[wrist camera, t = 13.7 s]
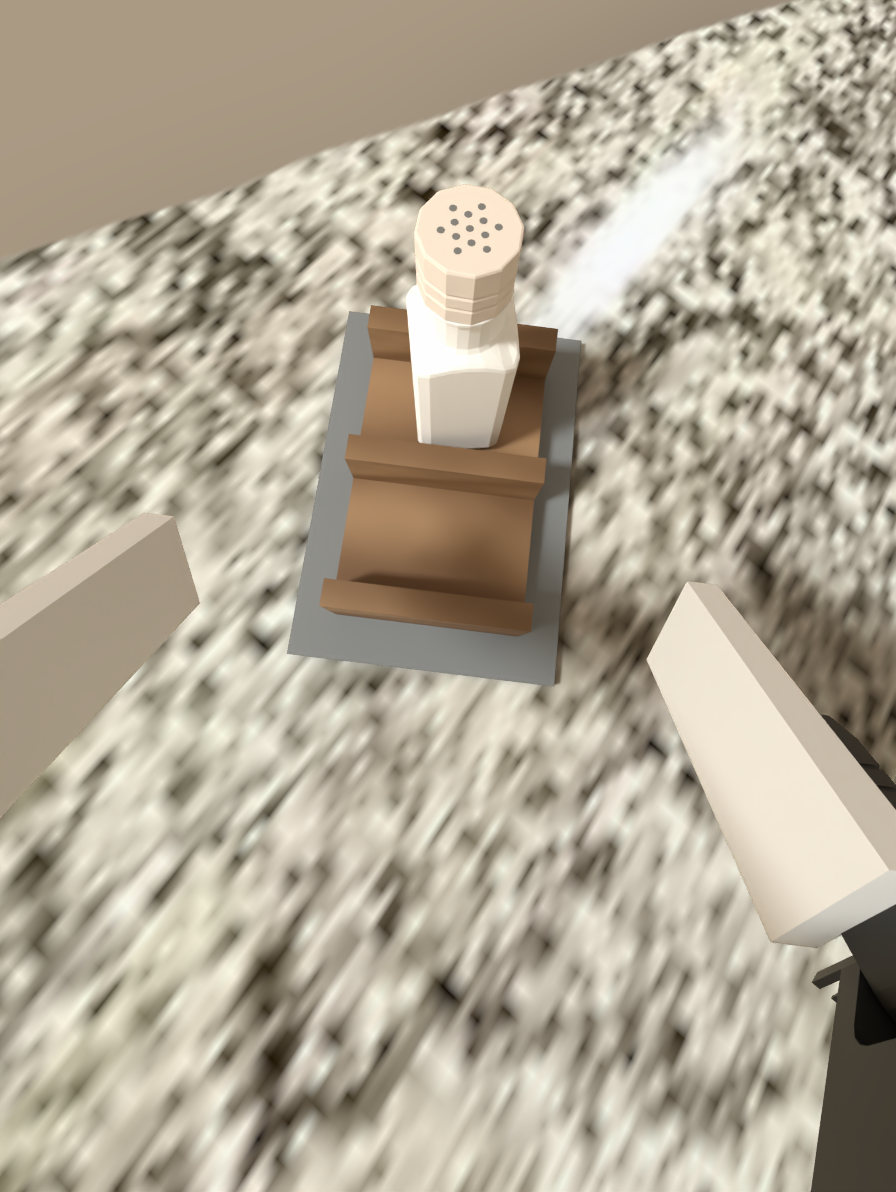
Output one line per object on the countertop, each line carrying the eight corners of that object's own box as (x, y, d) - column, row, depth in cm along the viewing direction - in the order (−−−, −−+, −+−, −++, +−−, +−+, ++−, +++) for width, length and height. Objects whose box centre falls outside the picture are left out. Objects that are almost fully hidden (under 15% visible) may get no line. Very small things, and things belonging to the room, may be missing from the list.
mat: (350, 317, 24) (349, 311, 24) (578, 346, 24) (581, 340, 24) (289, 654, 21) (286, 653, 20) (552, 686, 21) (554, 686, 21)
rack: (517, 636, 21) (531, 632, 18) (335, 614, 21) (319, 605, 18) (542, 371, 23) (557, 328, 20) (379, 351, 23) (371, 305, 20)
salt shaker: (419, 457, 21) (405, 292, 12) (413, 385, 22) (395, 174, 12) (498, 452, 21) (546, 284, 12) (490, 380, 22) (530, 168, 13)
